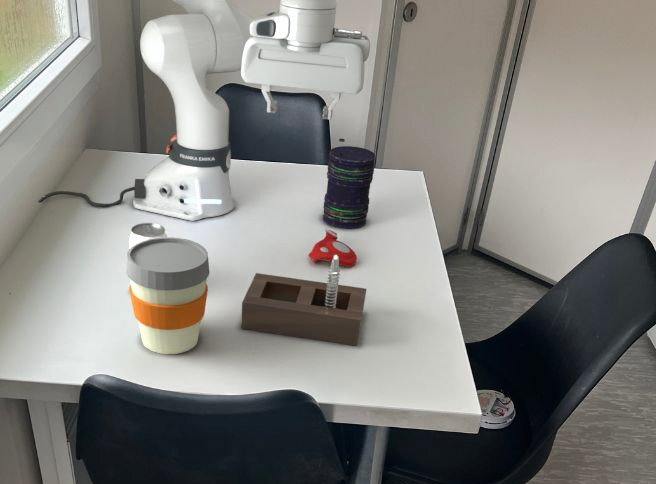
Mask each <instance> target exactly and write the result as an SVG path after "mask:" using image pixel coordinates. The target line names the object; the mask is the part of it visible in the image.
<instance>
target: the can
mask: <svg viewBox="0 0 656 484" xmlns="http://www.w3.org/2000/svg"><path fill="white" fill-rule="evenodd" d="M165 231H166V229H165V227H164V226H163V225H161V224H158V223H154V222H141V223H137V224H135V225H133V226H132V227H131V234H130V235H129V249H130V248H131V247H132V246H134V245H135V244H137V243H139V242H142V241H145V240H148V239H154V238H163V237H168V235H167V234H166V232H165Z"/></svg>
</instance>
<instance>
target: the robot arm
mask: <svg viewBox="0 0 656 484" xmlns="http://www.w3.org/2000/svg"><path fill="white" fill-rule="evenodd" d="M171 2H174V3H176V4H177V5H179V6H181V7H182V8H183V9H184V10H185V11H186V12H187V13H182V14H181V13H179V14H167V15H163V16H161V17H157V18H154V19H151V20H149V21H147V22H146V24H145V25H144V27H143V29H142V31H141V34H140V40H139V48H140V49H139V50H140V54H141V58H142V60H143V62H144V63H145V65H146V66H147V68H148V69H149V70H150V72H152V73H153V74H155V75H156V76H157V77H158V78H159V79H160V80H161V81H162V82H163V83H164V84H165V86H166V88H167V89H168V91H169V93H170V95H171V98H172V102H173V105H174V114H175V123H176V124H175V125H176V128H175V129H176V134H174V135H173V137H171V138H170V142H169V143H168V144H167V147H166V148H165V149H166V154H168V156H167V157H165V158H164V159H163V160H162V161H160V162H159V163H157V164H156V165H154V167H152V168H151V169H150V170H149V171H148V172H147V174H146V175H145V177H144V178H135V179H134V185H133V186H132V187H128V188H125V189H124V190H122V191H121V192H120V194H119V199H118V200H117V201H115V202H111V203H101V202H94V201H92V200H91V199H90V197H89V196H88V195H87V194H85V193H82V192H77V191H76V192H75V191H68V190H58V191H57V190H56V191H51V192H49V193H47V194H45V195H44V196H45V197H43V196H42V197H41V198H39V199H38V200H37V203H43V202H44V201H45V200H47V199H48V198H50V197H53V196H57V195H68V196H77V197H82V198H83V199H85V200H86V202H87V203H88V204H89V205H91V206H93V207H100V208H111V207H113V206H117V205H119V204H121V203H122V202H123V200H124V196H125V194H126V193H129V192H133V191H134V192H133V193H134V195H133V198H132V206H133V208H134V209H137V210H141V211H146V212H151V213H154V214H159V215H164V216H167V217H172V218H173V217H174V218H177V219H182V220H186V221H191V222H194V221H195V222H196V221H199V220H202V219H205V218H214V217H219V216H222V215H226V214H228V213H230V212H231V211H233V209H234V208H235V202H234V197H233V194H232V189H231V181H230V169H231V165H232V164H231V162H232V161H231V160H232V151H231V142H230V140H229V138H230V135H229V133H230V109H229V106H228V103H227V102H226V100H225V99H224V98H223V97H222V96H221V95H219V94H217V93H215V92H214V91H212V90H210V89H208V85H207V84H208V83H207V75H209V74H210V75H211V74H222V73H223V74H224V73H235V72H238V71H240V77H241V78H242V80H243V81H244V83H246V84H255V85H261V93H262V96H263V97H264V99H265V102H266V103H267V105H266V106H267V107H266V112H267V114H277V112H278V105H279V103H278V102H279V101H278V100H276V99H274V98H273V95H272V94H271V90H272V89H273V86H275V87H281V88H282V87H283V88H293V89H300V90H302V89H303V90H310V91H320V92H327V93H328V92H329V93H331V95H330V98H331V100H332V101H331V103H330V104H329V105H324V106H323V108H322V115H321V116H322V117H321V119H322V120H330V121H331V120H332V118H333V110H334V108H335V107H336V105H337V104H338V102H340V100H341V97H342V94H347V95H358V94H359V93H360V92H361V91H362V90H363V89H364V85H365V84H364V82H365V62H367V60H368V58H369V57H370V50H371V42H370V39H369V37H368V36H367V35H365V34H363V32H362V31H361V30H347V29H343V28H335V23H336V14H337V0H280V2H279V9H278V11H272V12H269V13H266V14H262V15H258V16H257V17H255V18H254V17H253V16H250V15H249V14H247V13H246V12H245V11H244V10H242V9H241V8H240V7H239V6H238V5H237V4H236V3H235V2H234V1H233V0H171Z"/></svg>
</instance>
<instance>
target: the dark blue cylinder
mask: <svg viewBox="0 0 656 484" xmlns="http://www.w3.org/2000/svg"><path fill="white" fill-rule="evenodd" d="M345 141H346V139H344V138H339V139H338V142H341V143H343V142H345ZM375 162H376V153H374V151H372V150H370V149H367V148H364V147H359V146H350V145H345V146H343V145H341V146H335V147H333V148H331V149H330V150H329V157H328V163H327V172H326V178H327V186H326V193H325V195H324V198H323V215H322V221H323V222H324V223H325V224H326V225H328V226H330V227H331V228H332V227H333V228H336V229H339V230H357V229H361V228H363V227H365V226H366V224H367V218H368V213H369V208H370V207H369V205H370V197H369V196H370V189H371V183H373V179H374V172H375Z"/></svg>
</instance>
